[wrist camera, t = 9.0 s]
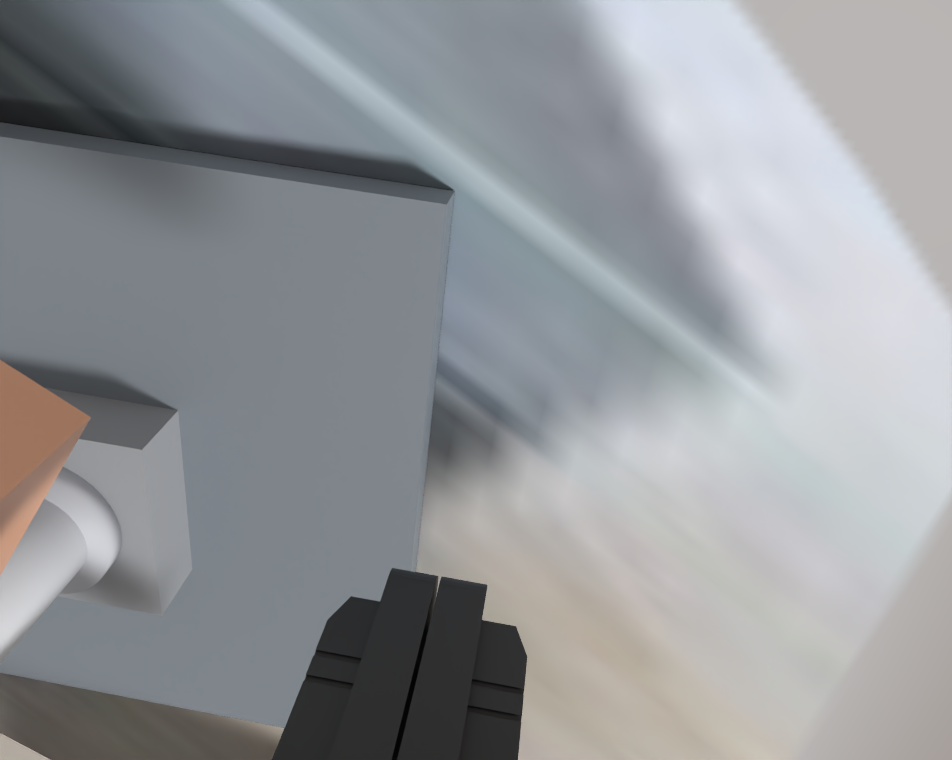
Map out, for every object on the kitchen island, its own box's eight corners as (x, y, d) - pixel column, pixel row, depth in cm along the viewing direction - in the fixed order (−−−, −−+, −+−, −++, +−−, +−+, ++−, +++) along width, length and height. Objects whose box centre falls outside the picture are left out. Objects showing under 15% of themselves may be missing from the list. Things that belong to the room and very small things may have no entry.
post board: (400, 720, 29) (332, 993, 21) (-106, 623, 30) (-343, 849, 22) (454, 190, 19) (363, 345, 11) (-303, 76, 20) (-849, 147, 12)
